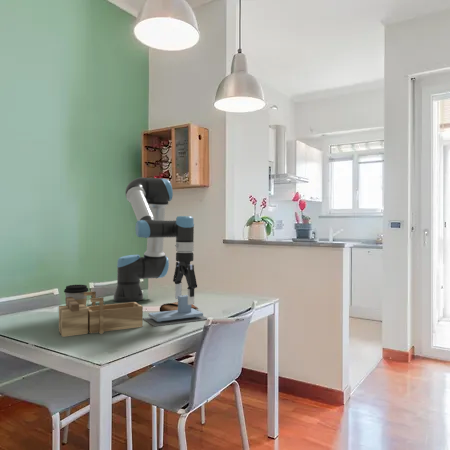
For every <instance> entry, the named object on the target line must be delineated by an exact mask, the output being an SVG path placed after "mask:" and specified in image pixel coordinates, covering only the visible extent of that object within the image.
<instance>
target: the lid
mask: <svg viewBox="0 0 450 450" xmlns="http://www.w3.org/2000/svg"><path fill="white" fill-rule="evenodd" d="M177 302H178V310H173V311H164V312H160V311H157V312H149V313H148V314H147V315H148V317H151V318H152V319H154V320H155V321H157V322H159V323H161V321H166V320H174V319H182V318H190V317H195V318H198V316H204V313H203V312H202V311H199V310H198V309H193V308H191V305H188V294H185V295H184V294H183V295H182V294H181V296H178V299H177Z"/></svg>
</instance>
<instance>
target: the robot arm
mask: <svg viewBox="0 0 450 450" xmlns="http://www.w3.org/2000/svg"><path fill="white" fill-rule="evenodd" d="M172 185H173V184H172V183H171V181H170V180H168V179H167V178H162V177H160V178H159V177H158V178H157V177H155V178H154V177H137V178H134V179H133V180H131V181H130V182H129V183H127V186H126V187H125V198H126V200H127V202H129V203H130V205H131V207H132V210H133V212H134V215H135V218H136V223H135V236H136V237H137V238H141V239H142V238H143V239H144V238H145V239H146V240H147V241H146V243H147V244H146V251H144V253H143V256H141V255H140V254H129V255H123V256H120V257H118V259H117V263H116V268H117V271H116V272H117V273H116V274H117V275H116V278H117V281H116V288H115V290H114V293H113V301H114V302H119V303H128V302H139V301H142V300H143V299H144V294H143V290H142V287H141V280H145V279H146V280H147V279H160V278H164V277H166V275H167V274H168V272H169V268H170V267H169V266H170V263H169V258H168V256H167V255H166V253H165V252H164V241H165V240H164V239H165V238H175V245H174V246H175V250H176V253H175V261H176V262H175V268H174V274H173V278H172V282H173V283H174V285H175V286H174V299H175V300H178V296H181V295H182V290H183V289H182V285H183V283H182V280H183V278H184V277H185V280H186V284H187V295H188V305H191V304H193V305H195V289H197V288H198V284H197V279H196V273H195V265H194V264H191V262H193V261H194V251H195V250H194V248H195V247H194V245H195V244H194V243H195V241H194V236H195V235H194V234H195V231H194V228H195V223H194V217H193V216H189V215H187V216H186V215H183V216H182V215H179V216H176V220H166V207H168V206H169V202H171V201H172V200H173V196H174V194H173V186H172Z"/></svg>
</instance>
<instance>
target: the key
mask: <svg viewBox="0 0 450 450" xmlns="http://www.w3.org/2000/svg"><path fill="white" fill-rule="evenodd" d="M65 298H66V301H65V306H66V305H67V306H68V307H69V309H70V310H71V311H72V312H75V311H79V304H78V303H77V302H76V300H75V299H74V298H73V297H65Z"/></svg>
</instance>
